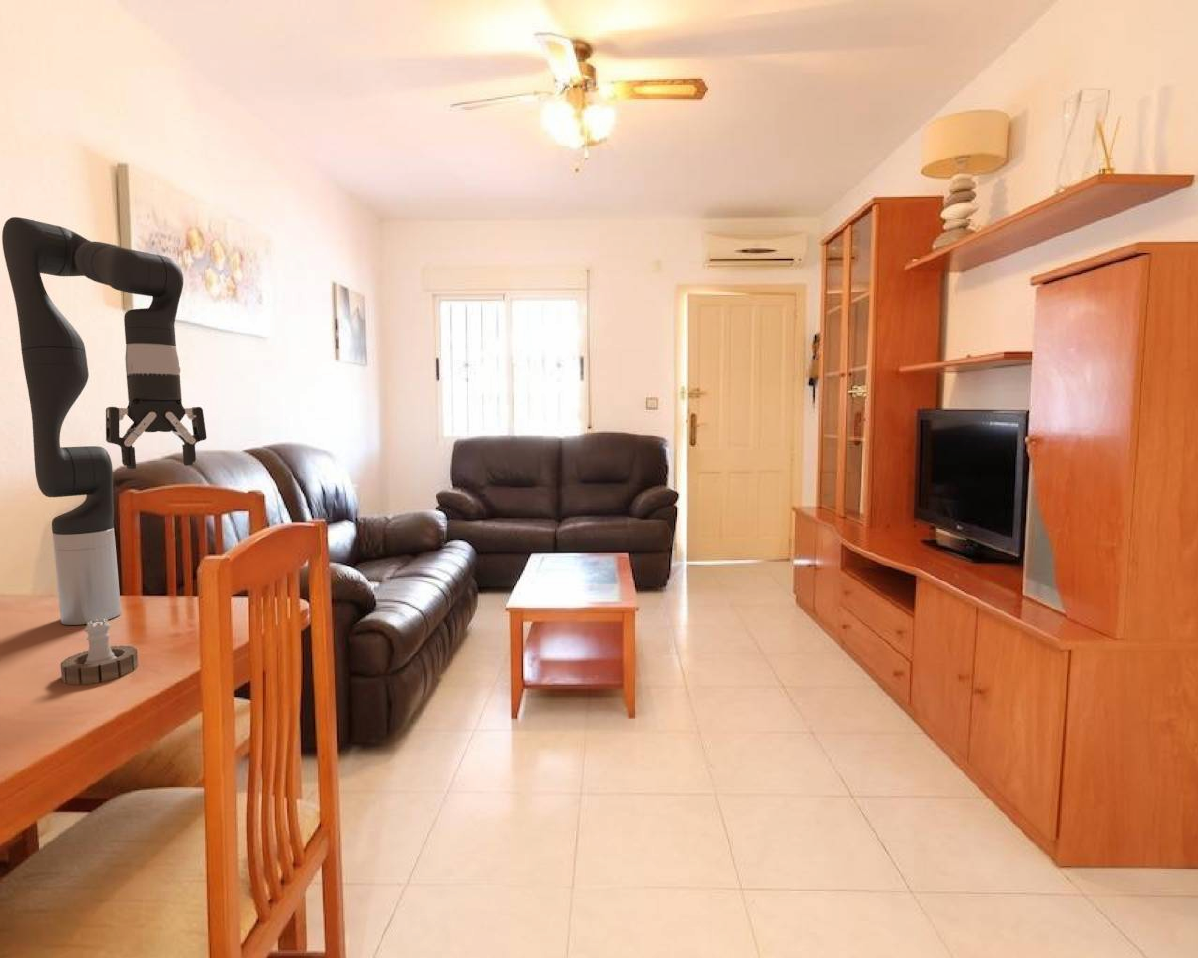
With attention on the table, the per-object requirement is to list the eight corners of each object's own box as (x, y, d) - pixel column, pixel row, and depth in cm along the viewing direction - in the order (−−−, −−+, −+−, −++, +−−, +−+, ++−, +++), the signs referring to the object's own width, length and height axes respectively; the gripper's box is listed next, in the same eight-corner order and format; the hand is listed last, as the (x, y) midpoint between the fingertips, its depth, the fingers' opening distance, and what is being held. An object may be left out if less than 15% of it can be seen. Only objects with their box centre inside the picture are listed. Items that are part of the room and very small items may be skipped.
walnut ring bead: (55, 674, 97) (54, 658, 97) (126, 656, 104) (125, 641, 104) (72, 689, 92) (70, 673, 91) (146, 669, 99) (144, 654, 98)
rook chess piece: (99, 679, 95) (95, 627, 95) (75, 676, 96) (70, 625, 95) (127, 667, 100) (123, 617, 99) (103, 665, 101) (99, 615, 100)
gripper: (191, 375, 117) (197, 463, 119) (95, 371, 106) (103, 469, 108) (208, 373, 113) (214, 465, 114) (109, 369, 102) (118, 471, 103)
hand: (160, 467), depth 111 cm, fingers open, 8 cm apart
